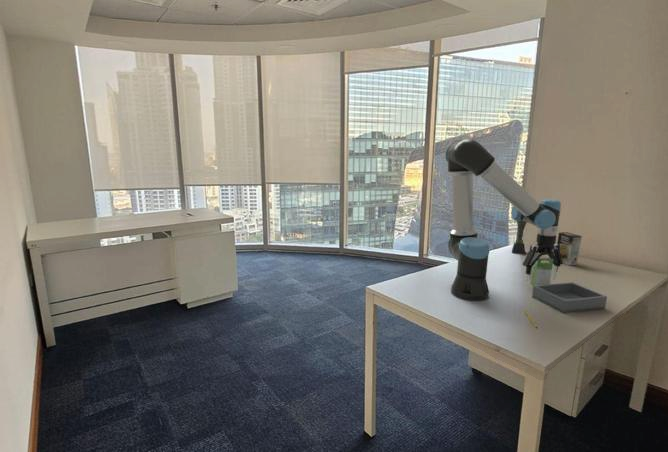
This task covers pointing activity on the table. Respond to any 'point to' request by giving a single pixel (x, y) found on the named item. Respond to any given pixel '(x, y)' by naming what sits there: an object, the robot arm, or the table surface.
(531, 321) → the pencil
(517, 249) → the statue
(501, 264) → the table surface
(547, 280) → the ink box
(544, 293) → the box
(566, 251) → the coffee box
